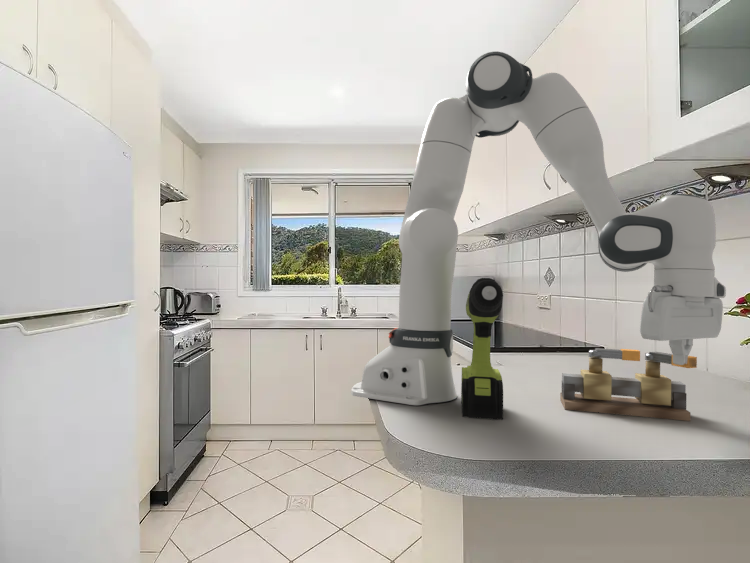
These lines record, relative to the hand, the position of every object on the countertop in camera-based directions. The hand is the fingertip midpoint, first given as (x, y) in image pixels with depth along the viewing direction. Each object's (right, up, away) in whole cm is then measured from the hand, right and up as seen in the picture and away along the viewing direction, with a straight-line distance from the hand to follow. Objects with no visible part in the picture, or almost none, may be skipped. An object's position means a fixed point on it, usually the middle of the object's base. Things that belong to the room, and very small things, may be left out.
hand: (680, 364), depth 80 cm
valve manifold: (-6, -10, +8) cm, 15 cm away
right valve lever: (0, -1, +4) cm, 4 cm away
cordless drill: (-35, -10, +1) cm, 36 cm away
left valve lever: (-7, -1, +9) cm, 11 cm away
